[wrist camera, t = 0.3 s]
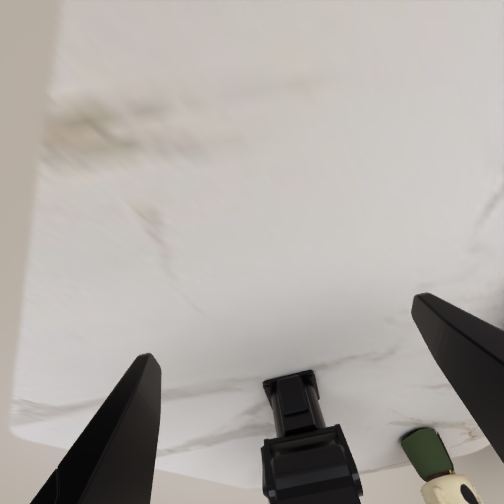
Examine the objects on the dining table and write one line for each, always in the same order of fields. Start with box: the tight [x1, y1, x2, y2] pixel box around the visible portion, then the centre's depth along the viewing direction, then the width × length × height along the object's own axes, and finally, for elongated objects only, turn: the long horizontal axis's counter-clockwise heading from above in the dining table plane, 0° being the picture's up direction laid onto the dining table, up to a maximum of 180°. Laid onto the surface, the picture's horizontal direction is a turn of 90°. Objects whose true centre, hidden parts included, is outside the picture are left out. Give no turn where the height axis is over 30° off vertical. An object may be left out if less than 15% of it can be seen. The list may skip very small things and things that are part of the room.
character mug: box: [401, 428, 484, 504], centre depth 43 cm, size 11×7×13 cm, turn 45°
